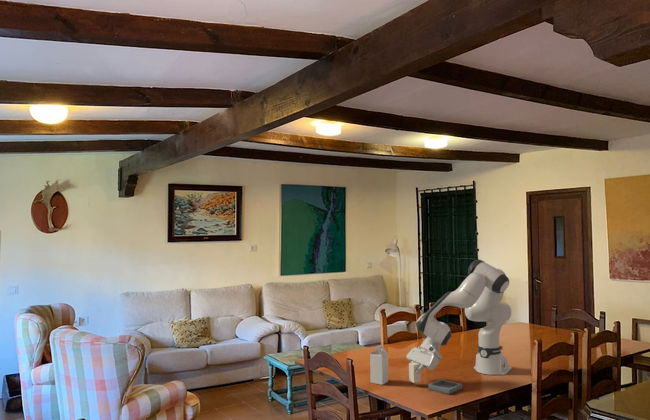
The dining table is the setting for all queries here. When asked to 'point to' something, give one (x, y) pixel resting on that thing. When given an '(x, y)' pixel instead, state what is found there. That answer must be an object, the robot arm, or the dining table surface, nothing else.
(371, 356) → the milk carton
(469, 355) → the dining table surface
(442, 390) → the grey tray
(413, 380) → the cream block
